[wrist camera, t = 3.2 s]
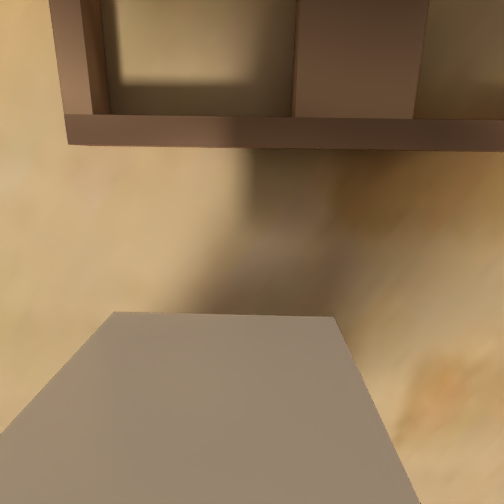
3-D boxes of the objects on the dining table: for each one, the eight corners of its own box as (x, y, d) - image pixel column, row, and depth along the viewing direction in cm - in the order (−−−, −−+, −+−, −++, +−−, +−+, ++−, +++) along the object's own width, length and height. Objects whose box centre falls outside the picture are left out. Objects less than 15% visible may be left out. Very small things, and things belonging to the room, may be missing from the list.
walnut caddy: (597, 153, 13) (640, 152, 11) (89, 145, 13) (68, 144, 12) (686, -147, 10) (756, -196, 9) (54, -148, 11) (22, -196, 9)
